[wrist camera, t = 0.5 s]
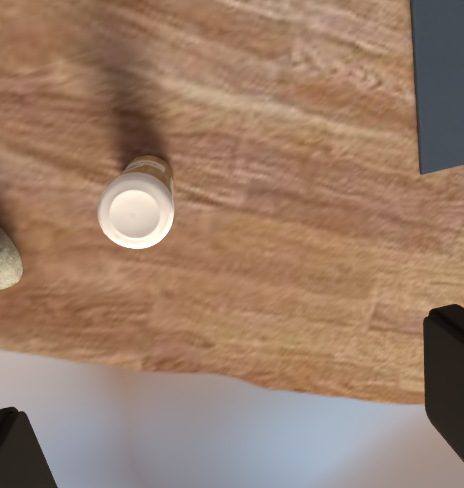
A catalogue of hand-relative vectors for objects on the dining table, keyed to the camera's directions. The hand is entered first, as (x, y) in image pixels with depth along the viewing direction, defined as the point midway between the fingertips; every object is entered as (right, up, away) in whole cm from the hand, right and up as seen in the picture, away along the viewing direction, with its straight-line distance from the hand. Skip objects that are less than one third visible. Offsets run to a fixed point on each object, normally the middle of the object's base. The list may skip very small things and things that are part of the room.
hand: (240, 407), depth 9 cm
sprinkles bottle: (-8, +10, +28) cm, 30 cm away
